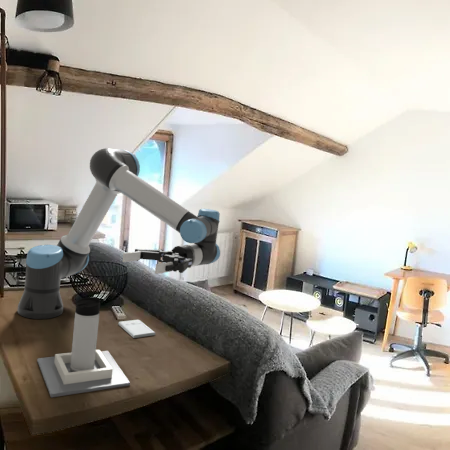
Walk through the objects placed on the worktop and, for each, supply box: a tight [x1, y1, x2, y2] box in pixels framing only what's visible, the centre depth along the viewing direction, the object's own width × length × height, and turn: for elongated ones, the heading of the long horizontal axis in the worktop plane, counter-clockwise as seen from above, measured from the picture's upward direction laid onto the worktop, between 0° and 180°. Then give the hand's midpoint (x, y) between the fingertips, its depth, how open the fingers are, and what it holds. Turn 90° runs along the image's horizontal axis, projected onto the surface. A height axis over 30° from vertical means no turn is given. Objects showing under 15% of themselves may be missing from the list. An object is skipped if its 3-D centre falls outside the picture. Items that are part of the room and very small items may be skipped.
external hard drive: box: [117, 319, 156, 339], centre depth 158 cm, size 2×8×12 cm
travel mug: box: [70, 296, 101, 372], centre depth 122 cm, size 6×7×20 cm
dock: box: [36, 349, 131, 398], centre depth 123 cm, size 20×20×3 cm
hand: (139, 263), depth 133 cm, fingers open, 13 cm apart
